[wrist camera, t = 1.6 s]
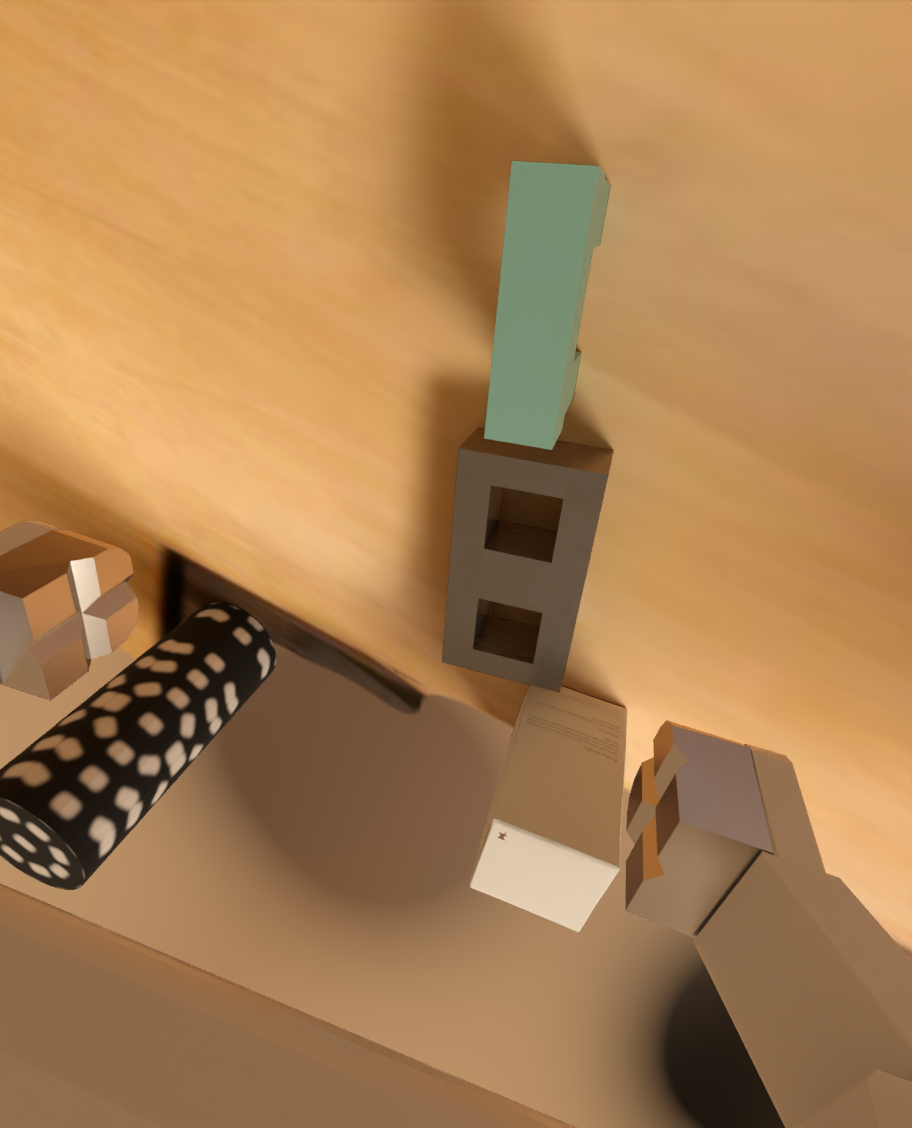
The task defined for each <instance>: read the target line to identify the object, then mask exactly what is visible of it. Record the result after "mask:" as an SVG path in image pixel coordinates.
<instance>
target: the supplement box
mask: <svg viewBox="0 0 912 1128" xmlns="http://www.w3.org/2000/svg"><path fill="white" fill-rule="evenodd" d="M626 729H627V709H625V708H623V707H620V706H617V705H614V704H611V703H608V702H605V701H602V700H599V699H597V698H594V697H591V696H588V695H585V694H582V693H579V692H576V691H574V690H571V689H568V688H565V687H562V686H561V690H560V693H558V692H555V691H551V690H547V689H543V688H539V687H535V686H532V685H529V688H528V690H527V693H526V696H525V698H524V701H523V704H522V706H521V709H520V712H519V714H518V717H517V720H516V723H515V726H514V729H513V732H512V735H511V738H510V742H509V745H508V748H507V752H506V756H505V760H504V763H503V766H502V770H501V774H500V777H499V780H498V784H497V787H496V791H495V795H494V798H493V801H492V805H491V808H490V811H489V815H488V818H487V822H486V826H485V829H484V833H483V836H482V840H481V843H480V847H479V851H478V855H477V858H476V862H475V866H474V869H473V873H472V877H471V881H470V887H471V888H473V889H476V890H478V891H481V892H483V893H486V894H488V895H491V896H493V897H496V898H498V899H500V900H503V901H506V902H508V903H510V904H513V905H515V906H517V907H520V908H522V909H525V910H527V911H530V912H532V913H534V914H537V915H539V916H541V917H544V918H547V919H549V920H551V921H553V922H556V923H558V924H560V925H563V926H565V927H568V928H570V929H572V930H574V931H577V932H579V931H580V929H581V928H582V927H583V925H584V923H585V922H586V920H587V918H588V917H589V915H590V913H591V912H592V910H593V909H594V907H595V905H596V904H597V903H598V901H599V900H600V898H601V897H602V895H603V894H604V892H605V891H606V889H607V888H608V886H609V885H610V884H611V882H612V880H613V879H614V877H615V876H616V874H617V873H618V872H619V870H620V842H621V823H622V805H623V789H624V772H625V754H626Z"/></svg>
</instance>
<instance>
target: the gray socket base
mask: <svg viewBox="0 0 912 1128" xmlns="http://www.w3.org/2000/svg"><path fill="white" fill-rule="evenodd" d="M484 434H485V429H482V428H477V429H476V431H475V432H474V433H473V434H472V435H471V436H470V437H469V438H468V439H467V440H466V441H465V442H464V443H463V444H462V445H461V446H460V447H459V448H458V461H457V474H456V487H455V500H454V513H453V526H452V539H451V552H450V565H449V578H448V590H447V603H446V616H445V629H444V642H443V655H442V662H444V663H448V664H451V665H455V666H459V667H463V668H467V669H470V670H474V671H478V672H482V673H486V674H490V675H493V676H497V677H501V678H505V679H509V680H512V681H516V682H520V683H524V684H528V685H532V686H535V687H539V688H543V689H547V690H551V691H555V692H558V693H560V690H561V686H562V681H563V677H564V672H565V668H566V663H567V659H568V654H569V650H570V645H571V641H572V636H573V632H574V627H575V623H576V618H577V614H578V609H579V605H580V600H581V596H582V591H583V587H584V582H585V578H586V573H587V569H588V564H589V560H590V555H591V550H592V546H593V541H594V537H595V532H596V528H597V523H598V519H599V514H600V510H601V505H602V501H603V496H604V492H605V487H606V483H607V478H608V474H609V469H610V465H611V460H612V456H613V451H614V450H608V449H602V448H596V447H590V446H584V445H578V444H572V443H566V442H560V441H556V443H555V445H554V447H553V449H552V450H549V449H543V448H537V447H532V446H526V445H520V444H514V443H508V442H502V441H496V440H490V439H485V438H484ZM504 488H509V489H514V490H519V491H525V492H530V493H535V494H541V495H546V496H551V497H557V498H562V499H563V504H562V510H561V515H560V521H559V526H558V532H555V531H550V530H545V529H540V528H535V527H530V526H525V525H520V524H515V523H510V522H505V521H500V515H501V507H502V499H503V491H504ZM490 601H493V602H497V603H501V604H506V605H510V606H514V607H518V608H523V609H527V610H531V611H536V612H540V613H542V619H541V624H540V628H539V627H535V626H531V625H527V624H522V623H518V622H514V621H510V620H506V619H501V618H497V617H493V616H489V615H488V612H489V604H490Z"/></svg>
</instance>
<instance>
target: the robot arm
mask: <svg viewBox="0 0 912 1128" xmlns="http://www.w3.org/2000/svg"><path fill="white" fill-rule="evenodd" d="M133 574H134V572H133V567H132V562H131V558H130V554H128V553H127V552H125V551H124V550H122V549H121V548H119V547H116V546H113V545H110V544H107V543H104V542H101V541H98V540H95V539H93V538H90V537H87V536H84V535H81V534H78V533H75V532H72V531H69V530H66V529H65V530H64V529H61V528H59V527H56V526H53V525H50V524H47V523H44V522H41V521H22V522H20V523H18V524H16V525H13V526H11V527H9V528H7V529H5V530H2V531H0V684H1V685H4V686H7V687H10V688H13V689H16V690H19V691H22V692H25V693H28V694H32V695H34V696H37V697H40V698H44V699H47V700H50V701H51V700H52V699H54V698H55V697H56V696H58V695H59V694H60V693H61V692H63V691H64V690H65V689H67V688H68V687H69V686H70V685H72V684H73V683H74V682H76V681H77V680H78V679H79V678H81V677H82V676H83V675H85V674H86V673H87V672H88V671H89V666H90V662H91V659H93V658H96V657H100V656H103V655H107V654H110V653H112V652H113V651H115V650H116V649H117V648H118V647H120V646H121V645H122V644H123V643H124V642H126V641H127V639H128V637H129V636H130V634H131V632H132V631H133V629H134V627H135V626H136V624H137V618H138V613H139V607H138V599H137V596H136V595H135V593H134V592H133V590H132V589H131V587H130V586H129V585H128V583H127V581H128V580H129V579H130V577H131V576H132V575H133ZM653 741H654V757H653V758H651V759H649V760H647V761H644V762H642V764H641V766H640V768H639V770H638V772H637V775H636V777H635V779H634V782H633V786H632V789H631V793H630V796H629V803H628V810H627V828H626V831H627V832H628V834H629V836H630V837H631V839H632V841H633V842H634V844H635V845H634V848H633V849H632V851H631V853H630V855H629V857H628V858H627V860H626V907H625V908H626V909H625V910H626V911H628V912H631V913H633V914H636V915H638V916H640V917H643V918H645V919H648V920H651V921H653V922H656V923H658V924H661V925H663V926H666V927H668V928H671V929H673V930H676V931H678V932H681V933H684V934H686V935H688V936H691V937H694V938H695V939H694V941H693V942H694V944H695V946H696V948H697V950H698V952H699V954H700V956H701V958H702V960H703V962H704V964H705V966H706V968H707V970H708V972H709V974H710V976H711V978H712V980H713V982H714V984H715V986H716V988H717V990H718V992H719V994H720V996H721V998H722V1000H723V1002H724V1005H725V1007H726V1009H727V1011H728V1013H729V1015H730V1016H731V1019H732V1021H733V1023H734V1025H735V1027H736V1029H737V1031H738V1033H739V1035H740V1036H741V1039H742V1041H743V1043H744V1045H745V1047H746V1049H747V1051H748V1053H749V1055H750V1057H751V1059H752V1061H753V1063H754V1065H755V1067H756V1069H757V1071H758V1073H759V1075H760V1077H761V1079H762V1081H763V1083H764V1085H765V1087H766V1089H767V1091H768V1093H769V1095H770V1097H771V1099H772V1101H773V1104H774V1105H775V1107H776V1109H777V1112H778V1114H779V1115H780V1118H781V1120H782V1122H783V1124H784V1126H785V1128H912V961H911V960H910V958H909V957H908V956H907V955H906V954H905V953H904V952H903V950H902V949H901V948H900V947H899V946H898V945H897V943H896V942H895V941H894V940H893V939H892V938H891V937H890V935H889V934H888V933H887V932H886V931H885V930H884V929H883V927H882V926H881V925H880V924H879V923H878V922H877V920H876V919H875V918H874V917H873V916H872V915H871V914H870V912H869V911H868V910H867V909H866V908H865V907H864V905H863V904H862V903H861V902H860V901H859V900H858V899H857V897H856V896H855V895H854V894H853V893H852V892H851V891H850V889H849V888H848V887H847V886H846V885H845V884H844V882H843V881H842V880H841V879H840V878H838V877H835V876H833V875H830V874H827V873H826V872H825V868H824V865H823V862H822V859H821V855H820V852H819V849H818V846H817V842H816V839H815V836H814V833H813V829H812V826H811V823H810V820H809V816H808V813H807V810H806V807H805V803H804V800H803V797H802V794H801V790H800V787H799V784H798V781H797V777H796V774H795V771H794V768H793V764H792V762H791V761H790V760H789V759H788V758H787V757H786V756H785V755H782V754H778V753H775V752H772V751H768V750H765V749H761V748H758V747H755V746H751V745H748V744H744V745H743V744H741V743H738V742H735V741H732V740H729V739H725V738H722V737H719V736H716V735H712V734H709V733H706V732H703V731H699V730H696V729H693V728H690V727H686V726H683V725H680V724H677V723H673V722H670V721H666V722H665V723H664V724H663V725H662V726H661V727H660V729H659V731H658V733H657V734H656V736H655V738H654V740H653ZM0 1128H577V1127H575V1126H572V1125H570V1124H567V1123H565V1122H563V1121H560V1120H558V1119H556V1118H553V1117H551V1116H549V1115H546V1114H544V1113H541V1112H539V1111H537V1110H534V1109H532V1108H530V1107H527V1106H525V1105H523V1104H520V1103H518V1102H516V1101H513V1100H511V1099H508V1098H506V1097H504V1096H501V1095H499V1094H497V1093H494V1092H492V1091H489V1090H487V1089H485V1088H482V1087H480V1086H478V1085H475V1084H473V1083H471V1082H468V1081H466V1080H464V1079H461V1078H459V1077H456V1076H454V1075H452V1074H449V1073H447V1072H445V1071H442V1070H440V1069H437V1068H435V1067H433V1066H430V1065H428V1064H426V1063H423V1062H421V1061H419V1060H416V1059H414V1058H412V1057H409V1056H407V1055H405V1054H402V1053H400V1052H397V1051H395V1050H393V1049H390V1048H388V1047H385V1046H383V1045H381V1044H379V1043H376V1042H374V1041H371V1040H369V1039H367V1038H364V1037H362V1036H359V1035H357V1034H355V1033H353V1032H350V1031H348V1030H345V1029H343V1028H341V1027H338V1026H336V1025H334V1024H331V1023H329V1022H327V1021H324V1020H322V1019H319V1018H317V1017H315V1016H312V1015H310V1014H307V1013H305V1012H303V1011H300V1010H298V1009H296V1008H293V1007H291V1006H288V1005H286V1004H284V1003H282V1002H279V1001H277V1000H274V999H272V998H270V997H267V996H265V995H263V994H260V993H258V992H256V991H253V990H251V989H248V988H246V987H244V986H241V985H239V984H237V983H234V982H232V981H230V980H227V979H225V978H222V977H220V976H218V975H216V974H213V973H211V972H208V971H206V970H203V969H201V968H199V967H197V966H194V965H191V964H190V963H187V962H184V961H182V960H180V959H178V958H175V957H173V956H170V955H168V954H166V953H163V952H161V951H159V950H156V949H154V948H151V947H149V946H147V945H144V944H142V943H140V942H137V941H135V940H133V939H130V938H128V937H126V936H123V935H121V934H119V933H116V932H114V931H112V930H109V929H107V928H104V927H102V926H100V925H97V924H95V923H93V922H90V921H88V920H86V919H83V918H81V917H78V916H76V915H74V914H71V913H69V912H66V911H64V910H62V909H60V908H57V907H55V906H52V905H50V904H48V903H45V902H43V901H40V900H38V899H36V898H33V897H31V896H29V895H26V894H24V893H22V892H19V891H17V890H14V889H12V888H10V887H8V886H5V885H3V884H0Z"/></svg>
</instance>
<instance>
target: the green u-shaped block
mask: <svg viewBox="0 0 912 1128" xmlns="http://www.w3.org/2000/svg"><path fill="white" fill-rule="evenodd" d="M605 175H606V173H605V172H604V171H603V170H602V169H601V168H600V167H599V166H590V165H574V164H557V163H541V162H524V161H512V164H511V174H510V184H509V194H508V204H507V214H506V224H505V234H504V244H503V254H502V264H501V274H500V284H499V294H498V304H497V314H496V324H495V334H494V344H493V354H492V364H491V374H490V384H489V394H488V404H487V414H486V424H485V434H484V438H485V439H490V440H496V441H502V442H508V443H514V444H520V445H526V446H532V447H537V448H543V449H549V450H552V449H553V447H554V445H555V443H556V441H557V439H558V437H559V435H560V433H561V431H562V427H563V422H564V416H565V413H566V411H567V409H568V407H569V406H570V404H571V402H572V400H573V396H574V391H575V385H576V379H577V374H578V368H579V362H580V357H581V352H577V351H576V345H577V339H578V334H579V328H580V322H581V316H582V310H583V304H584V298H585V292H586V287H587V281H588V275H589V269H590V263H591V257H592V251H593V247H594V246H599V245H600V243H601V237H602V231H603V225H604V220H605V214H606V208H607V203H608V197H609V191H610V185H611V184H610V183H609V182H608V181H607V180H606V179H605Z"/></svg>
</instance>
